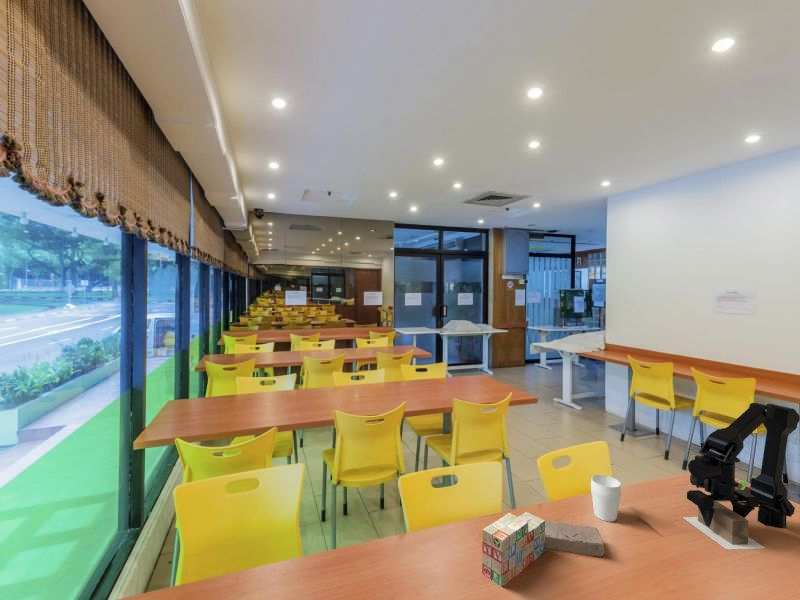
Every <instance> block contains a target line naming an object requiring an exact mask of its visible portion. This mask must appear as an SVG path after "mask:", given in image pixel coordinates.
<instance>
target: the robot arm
mask: <svg viewBox="0 0 800 600" xmlns="http://www.w3.org/2000/svg"><path fill="white" fill-rule="evenodd" d="M799 422H800V414H799V413H798V412H797V410H796V409H795V408H793V407H788V406H784V405H780V404H775V403H772V402H769V403H767V404H764V403H759V402H751V403H750V404H749V405H748V408H747V409H746V410H745V411H744V412H743V413H741V415H739V416H737V418H735V420H733V422H732V423H730V424H729V425H728V426H727V427H724V428H718V429H716V430H714V431H712V432H711V433H709V434H708V436H707V437H706V438H705V441H704V442H703V444H702V446H701V447H700V450H699V451H698V453H699V454H701V455H695V456H694V459H691V460H690V461H689V462H688V464H687V468H688V471H689V473H690V476H689V482H690V484H691V485H692V486H695V487H696V490H695V489H694V490H691V489H690V490H687V491H686V499H687V500H688V501H690V502H691V503H692V504H694V505H695V506H697V509H698V508H699V510H700V512H701V514H702V517H703V520H704V522H705V525H706V526H708V527H710V525H711V522H712V518H713V514H714V510H715V509H714V508H712V507H713V506H714V502H719V503H722V502H724V503H729V502H730V503H731V505H732V511H734V512H735V513H737V514H738V515H740V516H742V517H743V518H745V519H746V517H747V516H748V515H749V514H750V513H751V512H752V511H754V510H755V508H758V510H757V522H758V523H760V524H762V525H764V526H765V527H772V528H774V529H775V528H776V529H784V528H785V529H787V530H788V531H791V532H792V530H790V529H788V528H787V517H792V515H794V514H795V511H796V508H795V506H794V505H793V504H792V503H791V501H790V500H789V499H788V490H787V488H786V485H785V484H784V482H783V481H782V480H783V475H784V474H783V473H784V466H785V460H786V452H787V446H788V439H789V436H790V434H793V432H794V431H796V429H797V428H798V424H799ZM761 425H763V426H764V427H765V430H766V435H765V441H764V448H763V455H762V461H761V469H760V474H758V475H757V476H756V477H752V478H751V479H750V485H749V489H750V493H748V492H746V491H744V490H735V487H738V483H739V482H738V481H736V463H740V462H741V460H740V459H739V458H738V457H737V456H739V454H740V453H741V452H742V450H744V447H745V446H744V445H745V444H744V442H745V440H746V439H747V438H749V436H751V434H752V433H753V432H755V431H756V430H757V429H758V428H759V427H760V426H761ZM735 481H736V482H735ZM737 482H738V483H737ZM699 488H700V489H704V491H705V492H707V493H709V494H707V493H705V492H703V491H702V490H699Z"/></svg>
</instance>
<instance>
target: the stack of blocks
mask: <svg viewBox="0 0 800 600" xmlns="http://www.w3.org/2000/svg"><path fill="white" fill-rule="evenodd" d="M544 520H545V519H543V518H541V517H538V516H536V515H533V514H531V513H529V512H527V511H525V512H523V513H522V514H521V515H519V516H517V515H514V514H512V513H511V512H508V513H506V514H505V515H504V516H502V517H500V518H499V519H497V520H496V521H494V522H492V523H491V524H490V525H487V526H486V527H484V528H483V529H482V541H481V542H482V546H481V547H482V548H481V549H482V563H481V564H482V565H481V566H482V567H481V568H482V570H481V573H483V574H484V575H483V574H482V575H483V576H485V575H486V576H487V577H488V579H489V578H490V579H491V581H492V580H493V581H494V582H493V581H492V582H493V583H495V584H496V583H497V584H496V585H497V586H499V585H500V586H501V588H503V587H504V586H505V585H506V584H508V583H509V582H511V581H512V580H513V579H514V578H515V577H517V576H518V575H520V572H521V573H522V572H523V571H524V569H526V568H527V567H528V566H529V565H530V564H532V563H533V562H535V561H536V560H537V559H538V558H539V557H541V556H543V554H544V553H545V552H546V548H545V521H544ZM486 576H485V577H486ZM487 577H486V578H487ZM490 579H489V580H490ZM507 582H508V583H507ZM503 585H504V586H503ZM500 586H499V587H500ZM502 586H503V587H502Z"/></svg>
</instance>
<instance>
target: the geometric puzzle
mask: <svg viewBox="0 0 800 600" xmlns="http://www.w3.org/2000/svg"><path fill="white" fill-rule="evenodd" d="M739 481H740V479H736V480H735V482H737V483H738V487H735V490H744V491H746V492H748V493H750V489H749V488H750V485H748V483H746V482H745V480H744V479H743V478H742V479H741V481H740V482H739ZM748 486H749V487H748Z"/></svg>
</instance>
